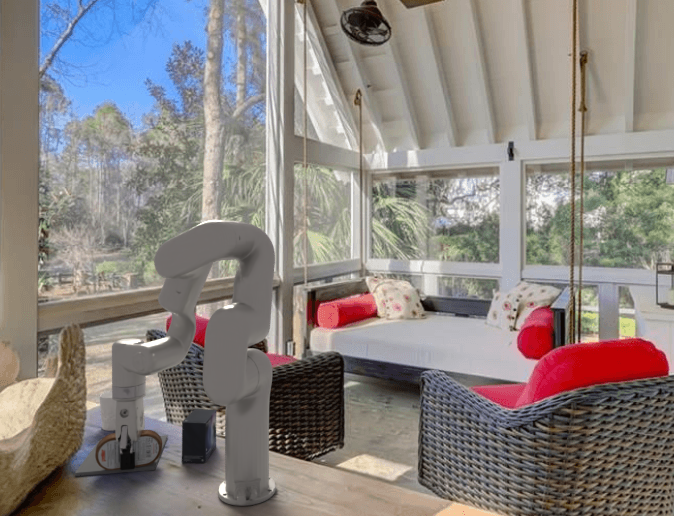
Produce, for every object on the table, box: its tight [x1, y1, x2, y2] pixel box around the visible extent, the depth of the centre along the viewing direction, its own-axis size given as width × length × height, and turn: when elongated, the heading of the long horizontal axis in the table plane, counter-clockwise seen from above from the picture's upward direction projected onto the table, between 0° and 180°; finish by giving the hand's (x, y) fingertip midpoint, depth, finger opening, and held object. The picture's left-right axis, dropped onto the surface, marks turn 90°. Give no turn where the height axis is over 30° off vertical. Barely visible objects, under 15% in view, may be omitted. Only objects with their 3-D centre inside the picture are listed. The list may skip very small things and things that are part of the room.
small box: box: [181, 408, 217, 464], centre depth 128 cm, size 11×6×10 cm, turn 179°
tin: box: [95, 429, 163, 470], centre depth 119 cm, size 15×3×8 cm, turn 111°
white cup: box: [99, 390, 116, 432], centre depth 147 cm, size 8×8×10 cm
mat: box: [74, 434, 169, 477], centre depth 127 cm, size 20×18×1 cm
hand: (129, 464), depth 119 cm, fingers closed on tin, 3 cm apart
